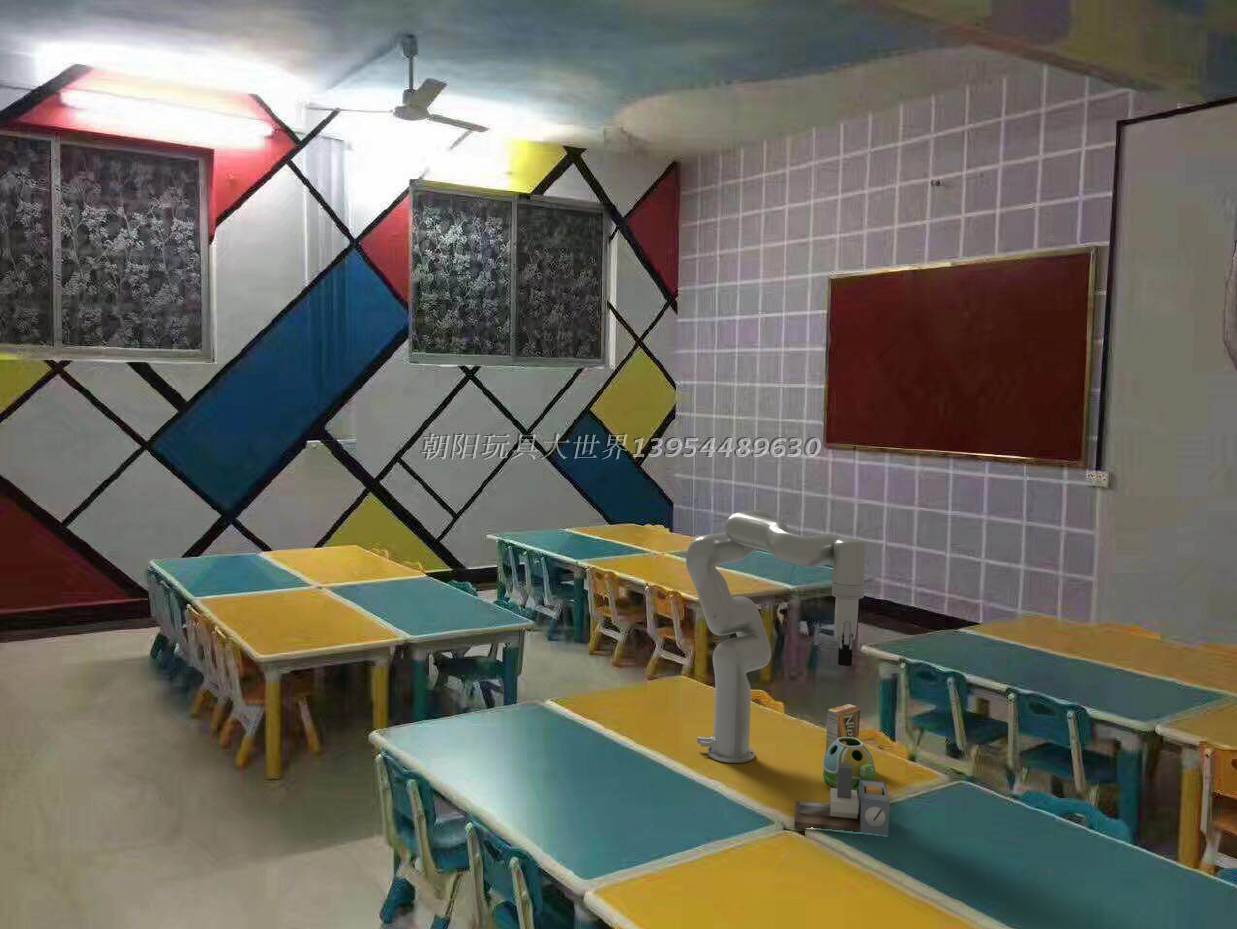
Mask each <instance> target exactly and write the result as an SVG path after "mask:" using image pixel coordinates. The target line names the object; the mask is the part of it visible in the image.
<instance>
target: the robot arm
mask: <svg viewBox="0 0 1237 929" xmlns="http://www.w3.org/2000/svg"><path fill="white" fill-rule="evenodd" d="M724 530H725V531H724V532H717V533H709V534H704V535H701V536H698V537H697V538H695V539H694V540H692V542H691V543H690V545H689V546H688V548H687V550H686V554H685V555H686V556H685V559H686V560H685V563H686V568H687V571H688V575H689V576H690V579H691V581H692V584H693V585H694V587H695V590H696V593H697V597H698V600H699V603H700V607H701V609H702V613H703V615H704V619H705V622H706V625H707V627H708V629H709V631H710V632H711V633H712V634H713V635H716V636H727V635H732V634H736V637H733V638H728V639H726V640H723V641H722V642H720V643H719V644H717V645H716V646H715V648H714V650H713V653H712V666H713V672H714V680H715V681H714V683H715V684H714V687H715V690H714V724H713V726H714V727H713V735H712V736H709V737H704V736H697V745H700V747H704V748H706V747H707V755H708V757H710V758H711V759H712V760H715V761H718V762H723V763H730V764H741V763H747V762H750V761H752V760H754V758H755V757H756V756H755V755H756V752H755V750H754V749H753V748H751V747H750V738H751V737H750V735H751V733H750V732H751V731H750V730H751V711H752V710H751V709H752V708H751V705H752V704H751V703H752V689H751V685H750V682H749V680H748V677H747V673H750V672H754V671H757V670H761V669H763V668H765V667H766V666H768V664H769V662H770V661H771V658H772V649H771V644H770V640H769V637H768V634H767V631H766V629H765V625H764V621H763V620H762V617H761V614H760V611H759V609H758V608H759V607H757V605H756V604H755V602H753V601H752V600H751V599H750V598H749V597H746V596H742V595H741V596H739V595H738V596H732V594H731V591H730V589H729V585H728V582H727V580H726V579H725V577H724V576H723V575H722V573H721V572H720V571H719V570H718V569H717V568H716V567H717V566H718V565H725V564H732V563H737V562H740V561H742V560H744V559H746V558H747V557H748V556H750V555H751V554H753V552H755V551H757V550H760V551H763V552H767V553H771V555H772V556H773V557H774V558H775V559H777V560H779V561H781V562H784V563H788V564H791V565H794V566H798V567H802V568H816V567H820V566H828V565H832V582H831V585H832V586H831V596H833V597H834V598H835V605H834V607H835V608H834V623H833V624H834V626H833V628H834V629H833V633H834V634H833V636H834V638H835V639H838V638H839V647H838V650H837V651H838V652H837V653H838V654H837V656H838V657H837V662H838V663H837V665H838V666H843V667H844V666H845V667H852V664H853V648H852V645H853V640H855V639H856V635H857V626H858V618H859V616H858V615H859V600H860V599H863V598H864V597H865V593H864V592H865V577H866V576H865V575H866V574H865V572H866V555H867V554H866V552H867V550H866V549H867V546H866V543H865V541H863V540H861V539H857V538H849V537H843V536H840V535H838V534H833V533H825V534H824V533H823V534H816V535H810V536H809V535H808V536H804V535H800V534H799V535H798V534H795V533H792V532H789V530H788V527H787V525H786V524H785V522H783V521H781V520H778V519H774V518H773V516H772V515H771V514H770V513H768V512H767V511H766V510H761V509H754V510H747V511H746V510H745V511H744V510H742V511H737V512H735V513H732V514H730V516H729V517H728V518H727V519H726V521H725V525H724Z"/></svg>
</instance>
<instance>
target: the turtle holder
mask: <svg viewBox="0 0 1237 929" xmlns="http://www.w3.org/2000/svg"><path fill="white" fill-rule="evenodd" d="M842 741H845V742H847V743H846V744H842V743H840V742H842ZM838 763H846V764H852V789H851V790H857V793H859V781H860V780H867V781H876V777H877V775H878V773H877V771H876V766H875V762H874V758H873V755H872V754H871V752H870V749H869V750H868V747H866V746H865V745H864V742H863V741H862V740H860V739H857V738H853V737H840V738H837V739H836V741H834V742H833V743H832V744H831V746H830V747H829V748H828V750H827V752H826V751H825V755H824V758H823V763H822V767H823V772H822V776H823V779H824V780H823V782H824V783H825V784H826V785H830V786H833V788H837V786H838Z"/></svg>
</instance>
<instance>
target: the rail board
mask: <svg viewBox="0 0 1237 929" xmlns="http://www.w3.org/2000/svg"><path fill="white" fill-rule="evenodd" d="M811 827H813V828H821V829H832V830H844V831H853V832H861V827H860V817H859V808H858V814H857V818H847V817H837V816H830V803H824V802H823V803H822V802H821V803H820V802H813V801H811V802H810V801H801V800H795V803H794V824H793V828H794V829H800V830H802V829H801V828H803V830H805V829H804V828H811Z"/></svg>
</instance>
